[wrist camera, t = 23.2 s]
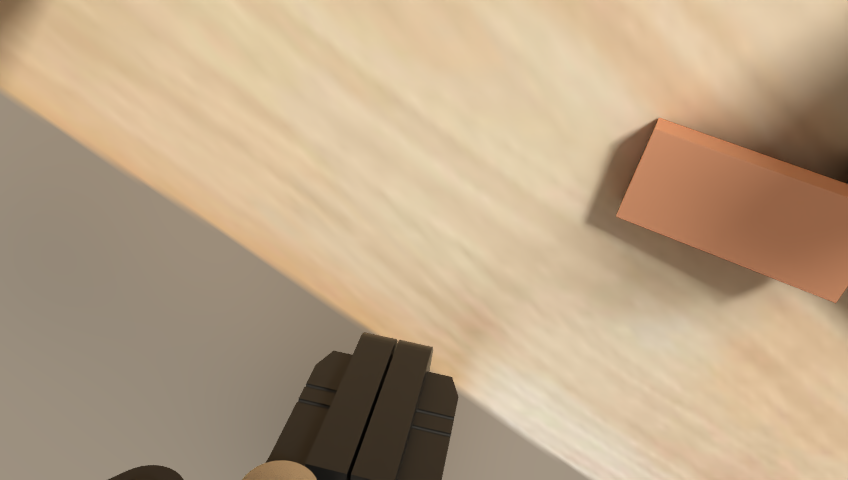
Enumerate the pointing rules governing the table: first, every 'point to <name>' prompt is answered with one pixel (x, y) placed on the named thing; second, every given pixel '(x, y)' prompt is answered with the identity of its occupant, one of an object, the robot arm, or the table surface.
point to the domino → (742, 208)
